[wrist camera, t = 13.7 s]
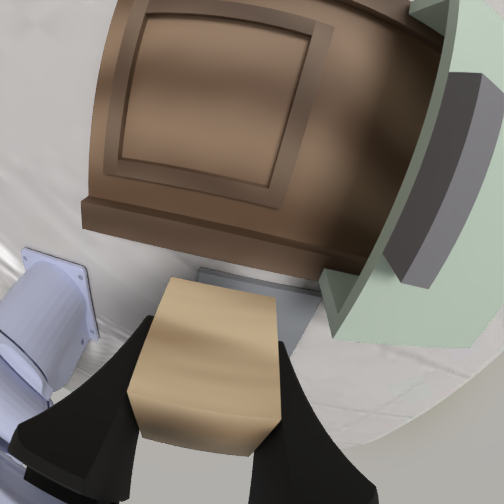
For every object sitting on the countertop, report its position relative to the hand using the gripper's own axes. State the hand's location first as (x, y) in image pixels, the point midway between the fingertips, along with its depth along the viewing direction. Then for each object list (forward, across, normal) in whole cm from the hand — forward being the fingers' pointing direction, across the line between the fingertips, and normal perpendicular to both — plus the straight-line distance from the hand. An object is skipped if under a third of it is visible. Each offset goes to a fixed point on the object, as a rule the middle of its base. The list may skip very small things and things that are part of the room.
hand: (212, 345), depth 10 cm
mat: (+9, -3, +7) cm, 12 cm away
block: (+1, 0, 0) cm, 1 cm away
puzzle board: (+9, -5, -9) cm, 13 cm away
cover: (+7, -12, -8) cm, 16 cm away
